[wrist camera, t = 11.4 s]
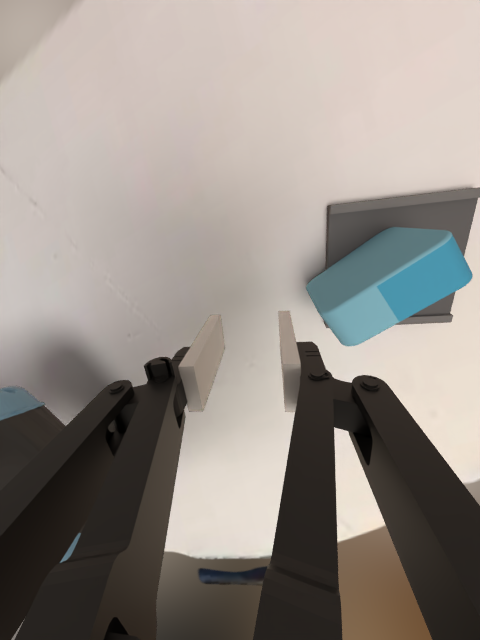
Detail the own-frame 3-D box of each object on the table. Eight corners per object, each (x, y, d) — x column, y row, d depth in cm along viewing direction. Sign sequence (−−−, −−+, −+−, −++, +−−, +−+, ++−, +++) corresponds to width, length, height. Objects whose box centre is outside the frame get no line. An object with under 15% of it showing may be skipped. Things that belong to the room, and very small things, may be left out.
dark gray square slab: (324, 322, 36) (326, 327, 34) (327, 205, 30) (330, 205, 28) (442, 317, 34) (451, 322, 32) (472, 188, 27) (484, 186, 26)
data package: (321, 309, 34) (346, 352, 23) (303, 284, 33) (320, 317, 22) (406, 255, 30) (485, 276, 19) (388, 225, 29) (461, 229, 18)
